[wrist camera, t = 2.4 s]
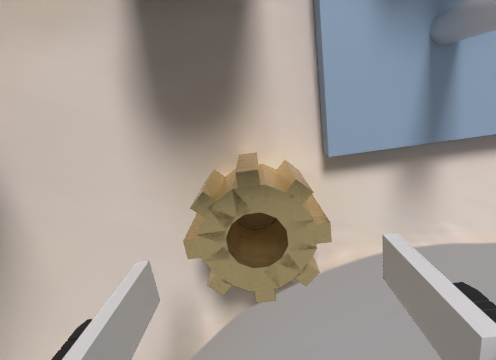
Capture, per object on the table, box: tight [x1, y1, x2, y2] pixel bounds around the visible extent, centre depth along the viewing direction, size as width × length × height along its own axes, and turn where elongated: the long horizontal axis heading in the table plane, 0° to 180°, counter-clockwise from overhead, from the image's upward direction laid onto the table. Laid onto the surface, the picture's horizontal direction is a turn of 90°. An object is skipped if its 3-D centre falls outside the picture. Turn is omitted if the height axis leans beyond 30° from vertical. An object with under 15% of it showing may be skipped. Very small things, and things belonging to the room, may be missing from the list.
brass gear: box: [184, 153, 331, 303], centre depth 20 cm, size 10×10×6 cm
